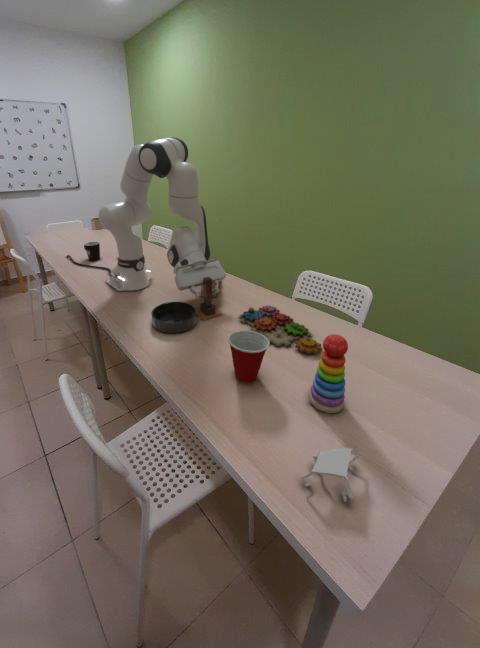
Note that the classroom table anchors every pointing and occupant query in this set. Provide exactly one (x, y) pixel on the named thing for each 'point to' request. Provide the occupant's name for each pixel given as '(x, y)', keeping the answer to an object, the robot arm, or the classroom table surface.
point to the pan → (174, 317)
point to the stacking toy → (330, 376)
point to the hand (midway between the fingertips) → (208, 294)
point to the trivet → (208, 315)
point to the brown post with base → (207, 297)
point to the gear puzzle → (280, 328)
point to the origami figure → (334, 466)
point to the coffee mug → (93, 250)
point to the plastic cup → (247, 353)
